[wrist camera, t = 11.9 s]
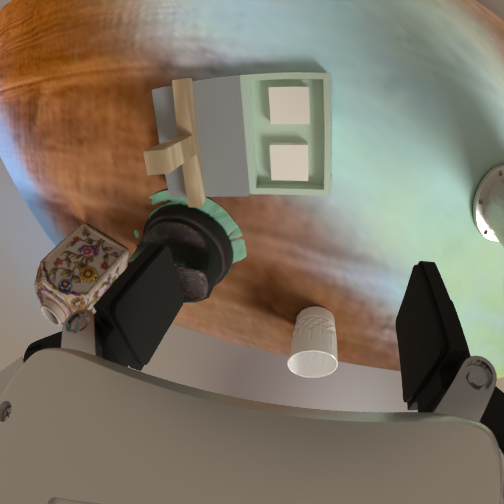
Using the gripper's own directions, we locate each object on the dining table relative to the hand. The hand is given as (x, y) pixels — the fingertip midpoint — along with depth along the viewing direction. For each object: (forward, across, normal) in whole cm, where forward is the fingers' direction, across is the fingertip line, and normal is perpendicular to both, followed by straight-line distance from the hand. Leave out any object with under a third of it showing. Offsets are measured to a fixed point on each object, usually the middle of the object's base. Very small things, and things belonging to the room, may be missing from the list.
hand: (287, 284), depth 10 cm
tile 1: (+24, +3, -5) cm, 25 cm away
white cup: (+27, -1, +30) cm, 41 cm away
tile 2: (+25, +3, +2) cm, 25 cm away
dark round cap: (+26, +20, +16) cm, 37 cm away
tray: (+26, +3, -1) cm, 27 cm away
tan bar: (+23, +14, -1) cm, 27 cm away
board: (+26, +14, -1) cm, 29 cm away
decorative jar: (+25, +40, +19) cm, 51 cm away
